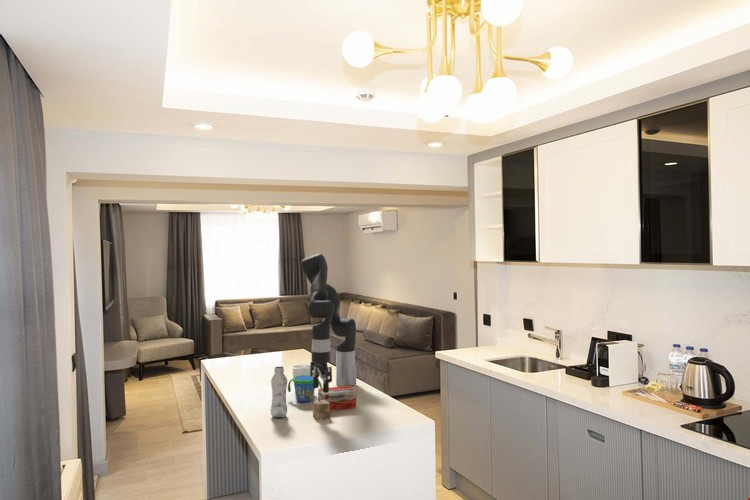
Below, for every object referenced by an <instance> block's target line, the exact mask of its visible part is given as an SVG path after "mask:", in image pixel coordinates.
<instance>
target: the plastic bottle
mask: <svg viewBox="0 0 750 500" xmlns="http://www.w3.org/2000/svg"><path fill="white" fill-rule="evenodd" d="M284 369H285V368H284V366H275V367H274V368H273V373H274V374H273V375H272V377H271V380H270V384H271V395H272V399H271V405H270V406H271V407H270V416H271V417H273V418H277V419H278V418H284V417H286V415H287V414H288V406H287V389H288V377H287V376H286V375H285V373H284V372H285V370H284Z"/></svg>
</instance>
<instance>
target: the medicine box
mask: <svg viewBox="0 0 750 500" xmlns="http://www.w3.org/2000/svg"><path fill="white" fill-rule="evenodd" d="M317 392H318V393H317V401H321V400H325V401H327V402H329V403H330V412H335V411H345V410H352V409H353V410H354V409H357V397H358V396H357V390H356V389H355V388H354V386H335V387H329V392H327V393H324V392H323V387H322V389H320V388H318V390H317Z"/></svg>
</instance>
